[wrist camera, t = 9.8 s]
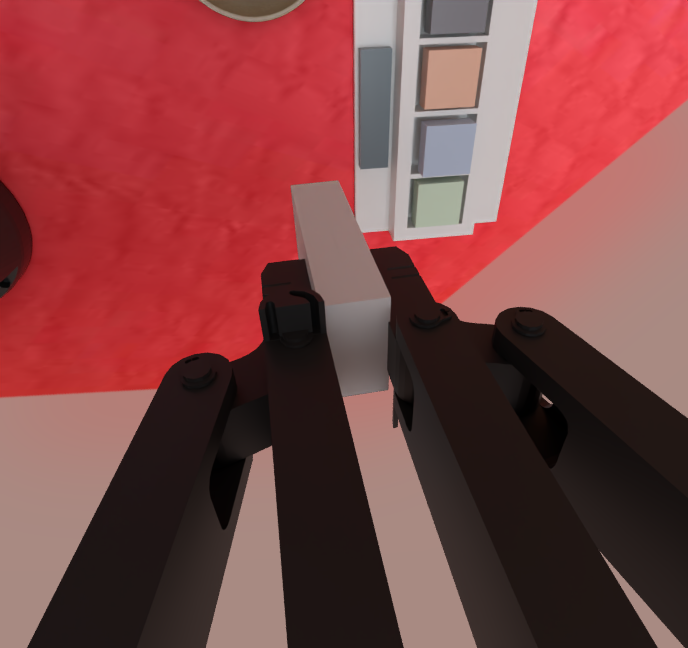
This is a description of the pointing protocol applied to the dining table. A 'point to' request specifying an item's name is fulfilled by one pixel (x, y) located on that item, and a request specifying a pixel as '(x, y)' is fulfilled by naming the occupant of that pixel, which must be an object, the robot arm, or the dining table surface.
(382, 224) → the keypad
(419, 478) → the robot arm
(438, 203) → the key sage
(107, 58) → the dining table surface
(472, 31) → the key charcoal
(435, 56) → the key terracotta
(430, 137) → the key slate
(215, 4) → the flower pot
